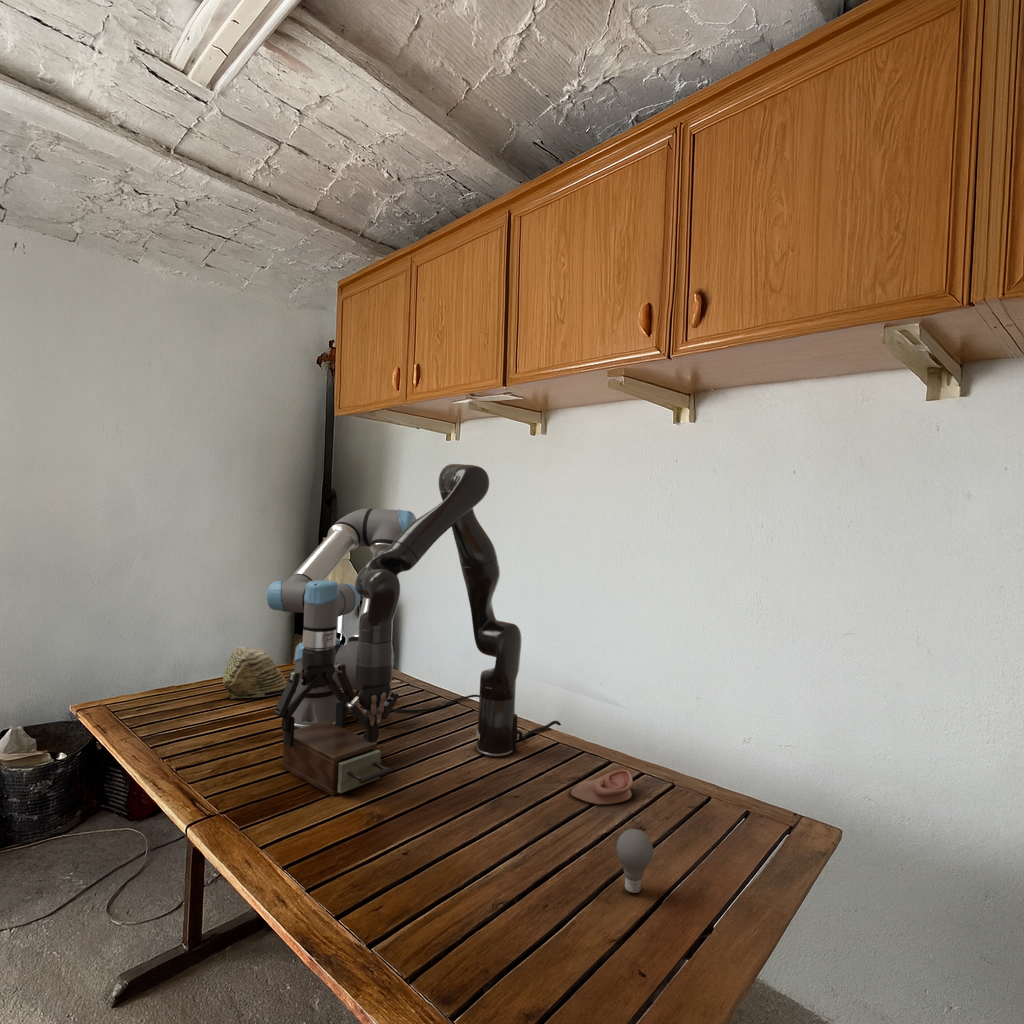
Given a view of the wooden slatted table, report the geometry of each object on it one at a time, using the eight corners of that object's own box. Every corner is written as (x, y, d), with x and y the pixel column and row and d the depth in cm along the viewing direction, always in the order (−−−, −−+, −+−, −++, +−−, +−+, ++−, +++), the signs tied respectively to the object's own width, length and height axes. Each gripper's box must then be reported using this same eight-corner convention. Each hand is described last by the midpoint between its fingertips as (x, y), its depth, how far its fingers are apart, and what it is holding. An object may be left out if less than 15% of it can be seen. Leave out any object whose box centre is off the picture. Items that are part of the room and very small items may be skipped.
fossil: (218, 695, 195) (220, 647, 195) (278, 685, 208) (279, 640, 207) (228, 703, 189) (230, 653, 188) (289, 692, 201) (290, 645, 201)
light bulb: (610, 879, 108) (613, 822, 108) (644, 879, 109) (647, 822, 109) (619, 902, 102) (622, 840, 102) (655, 901, 103) (658, 840, 103)
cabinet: (375, 779, 143) (377, 743, 143) (332, 796, 134) (333, 757, 134) (325, 753, 156) (326, 720, 156) (282, 767, 147) (283, 732, 147)
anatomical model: (569, 782, 136) (575, 761, 148) (568, 800, 136) (574, 778, 148) (632, 790, 134) (633, 768, 145) (631, 809, 134) (632, 785, 145)
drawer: (395, 786, 138) (396, 758, 138) (356, 802, 130) (357, 772, 130) (331, 754, 153) (332, 729, 153) (292, 767, 145) (293, 740, 145)
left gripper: (278, 658, 136) (274, 756, 136) (372, 642, 155) (368, 729, 155) (260, 651, 141) (256, 747, 141) (353, 637, 160) (349, 721, 160)
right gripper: (359, 670, 128) (356, 755, 128) (409, 659, 138) (406, 738, 138) (337, 662, 132) (334, 744, 133) (387, 652, 143) (384, 729, 143)
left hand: (315, 738), depth 148 cm, fingers open, 13 cm apart
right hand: (371, 741), depth 135 cm, fingers closed
